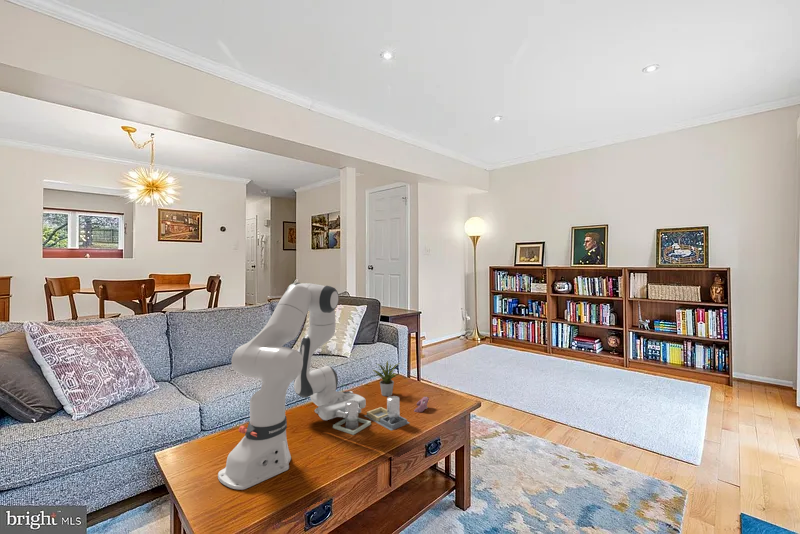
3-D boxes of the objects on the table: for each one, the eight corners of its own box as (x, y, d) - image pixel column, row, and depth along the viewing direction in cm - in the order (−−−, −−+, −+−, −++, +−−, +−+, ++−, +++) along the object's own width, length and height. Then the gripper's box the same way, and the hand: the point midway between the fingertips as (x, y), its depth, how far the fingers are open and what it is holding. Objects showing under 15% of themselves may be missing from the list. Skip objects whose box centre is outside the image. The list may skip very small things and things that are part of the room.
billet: (395, 426, 144) (394, 401, 144) (384, 423, 147) (384, 399, 146) (402, 421, 148) (401, 397, 148) (391, 419, 151) (391, 395, 151)
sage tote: (353, 438, 138) (353, 431, 138) (332, 430, 143) (332, 425, 143) (370, 427, 146) (370, 421, 146) (350, 420, 152) (350, 415, 152)
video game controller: (422, 418, 157) (429, 405, 156) (412, 413, 158) (419, 399, 157) (424, 409, 167) (431, 396, 166) (416, 404, 168) (422, 391, 167)
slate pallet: (410, 425, 147) (410, 419, 147) (391, 433, 141) (391, 426, 141) (382, 411, 161) (382, 405, 161) (363, 418, 154) (363, 412, 154)
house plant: (392, 386, 193) (392, 355, 192) (408, 394, 181) (407, 361, 181) (369, 392, 185) (368, 360, 184) (383, 401, 173) (383, 366, 173)
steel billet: (352, 431, 141) (352, 406, 141) (343, 428, 144) (342, 403, 144) (360, 426, 146) (360, 402, 145) (351, 423, 148) (351, 399, 148)
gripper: (312, 402, 148) (330, 412, 137) (354, 389, 161) (373, 398, 151) (312, 417, 148) (330, 429, 137) (354, 404, 161) (373, 413, 151)
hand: (353, 413), depth 144 cm, fingers closed on steel billet, 5 cm apart
